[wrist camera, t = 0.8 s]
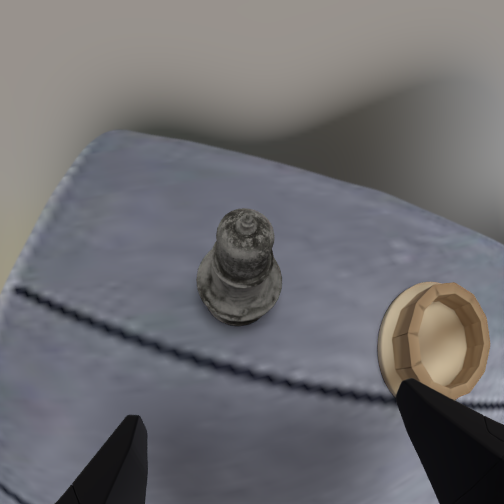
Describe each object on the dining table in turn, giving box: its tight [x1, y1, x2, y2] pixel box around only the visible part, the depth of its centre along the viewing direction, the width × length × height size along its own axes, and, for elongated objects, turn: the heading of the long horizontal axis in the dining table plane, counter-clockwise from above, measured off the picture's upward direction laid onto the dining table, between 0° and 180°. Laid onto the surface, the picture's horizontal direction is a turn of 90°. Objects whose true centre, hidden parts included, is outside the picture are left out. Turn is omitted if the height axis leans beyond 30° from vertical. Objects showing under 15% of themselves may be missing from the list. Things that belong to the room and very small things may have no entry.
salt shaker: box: [197, 208, 282, 326], centre depth 18 cm, size 6×6×12 cm
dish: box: [378, 282, 490, 400], centre depth 21 cm, size 12×12×4 cm
